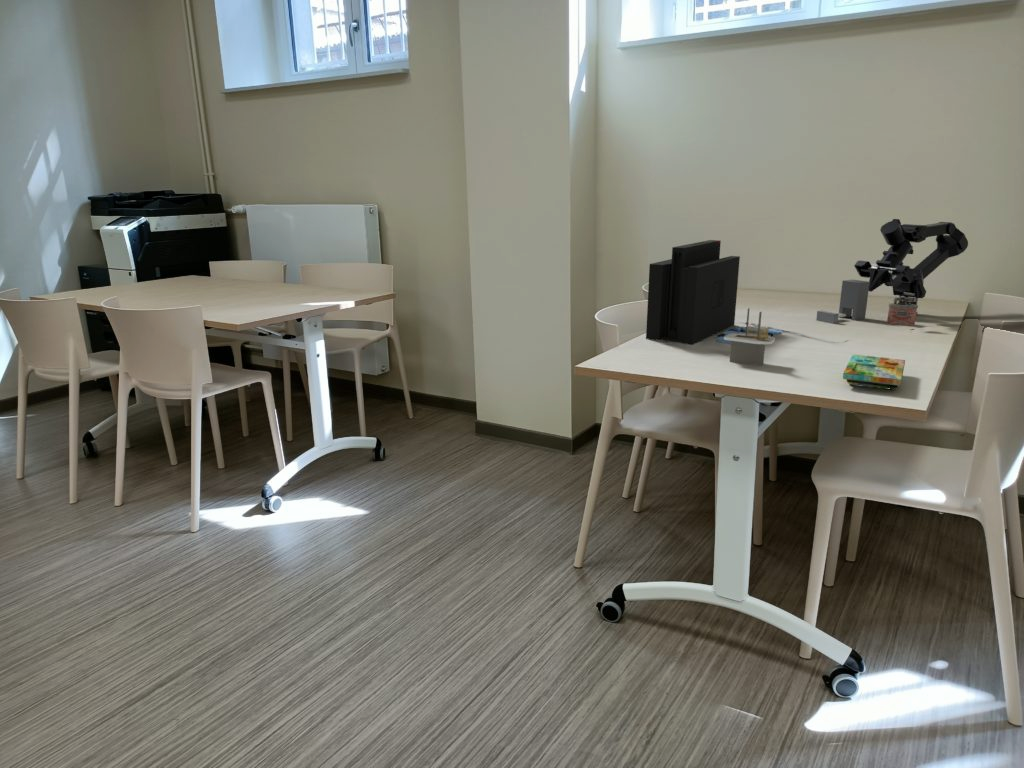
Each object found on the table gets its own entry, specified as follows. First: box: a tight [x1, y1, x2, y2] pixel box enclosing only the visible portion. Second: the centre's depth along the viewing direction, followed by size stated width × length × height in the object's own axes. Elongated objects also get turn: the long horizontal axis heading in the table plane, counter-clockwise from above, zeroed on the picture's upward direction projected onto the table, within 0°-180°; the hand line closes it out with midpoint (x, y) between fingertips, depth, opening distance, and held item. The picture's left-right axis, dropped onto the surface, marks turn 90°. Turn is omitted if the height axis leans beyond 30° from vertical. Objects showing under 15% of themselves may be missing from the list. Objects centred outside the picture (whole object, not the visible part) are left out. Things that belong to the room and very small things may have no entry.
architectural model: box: [724, 307, 776, 366], centre depth 192 cm, size 21×25×14 cm
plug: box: [838, 279, 870, 321], centre depth 243 cm, size 5×6×12 cm
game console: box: [645, 239, 782, 346], centre depth 224 cm, size 35×30×27 cm
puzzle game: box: [842, 354, 906, 390], centre depth 176 cm, size 12×5×20 cm
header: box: [815, 310, 846, 325], centre depth 240 cm, size 8×6×3 cm
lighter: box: [886, 296, 919, 331], centre depth 235 cm, size 8×3×10 cm, turn 62°
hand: (869, 290), depth 246 cm, fingers closed
